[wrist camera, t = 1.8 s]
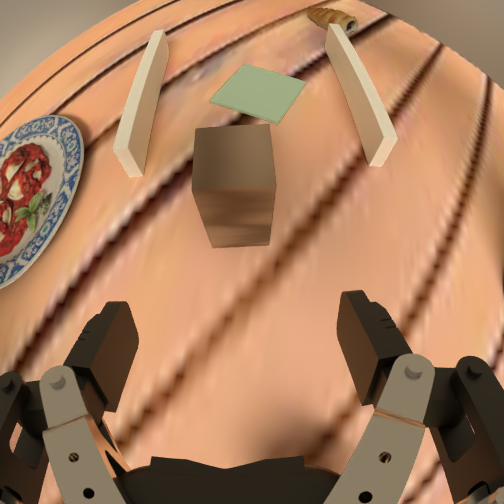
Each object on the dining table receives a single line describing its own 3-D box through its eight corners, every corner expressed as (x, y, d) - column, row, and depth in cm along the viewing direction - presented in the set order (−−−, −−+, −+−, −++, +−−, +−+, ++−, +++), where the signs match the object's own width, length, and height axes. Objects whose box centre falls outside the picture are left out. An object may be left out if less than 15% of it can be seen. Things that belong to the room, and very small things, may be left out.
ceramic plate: (-48, 222, 29) (-59, 215, 26) (47, 105, 36) (39, 94, 33) (-3, 340, 23) (-20, 337, 21) (130, 171, 30) (120, 155, 27)
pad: (305, 84, 34) (306, 82, 34) (277, 124, 31) (278, 122, 31) (244, 66, 36) (244, 63, 35) (209, 102, 33) (209, 100, 33)
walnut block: (264, 193, 29) (269, 121, 19) (269, 245, 27) (276, 185, 17) (212, 196, 28) (195, 125, 19) (212, 248, 27) (191, 189, 17)
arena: (334, 49, 38) (339, 24, 33) (381, 166, 30) (397, 138, 25) (160, 55, 37) (153, 31, 33) (129, 177, 29) (112, 150, 25)
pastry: (298, 19, 42) (300, 3, 38) (319, 13, 43) (321, -2, 40) (341, 39, 39) (345, 21, 36) (359, 31, 41) (363, 15, 37)
